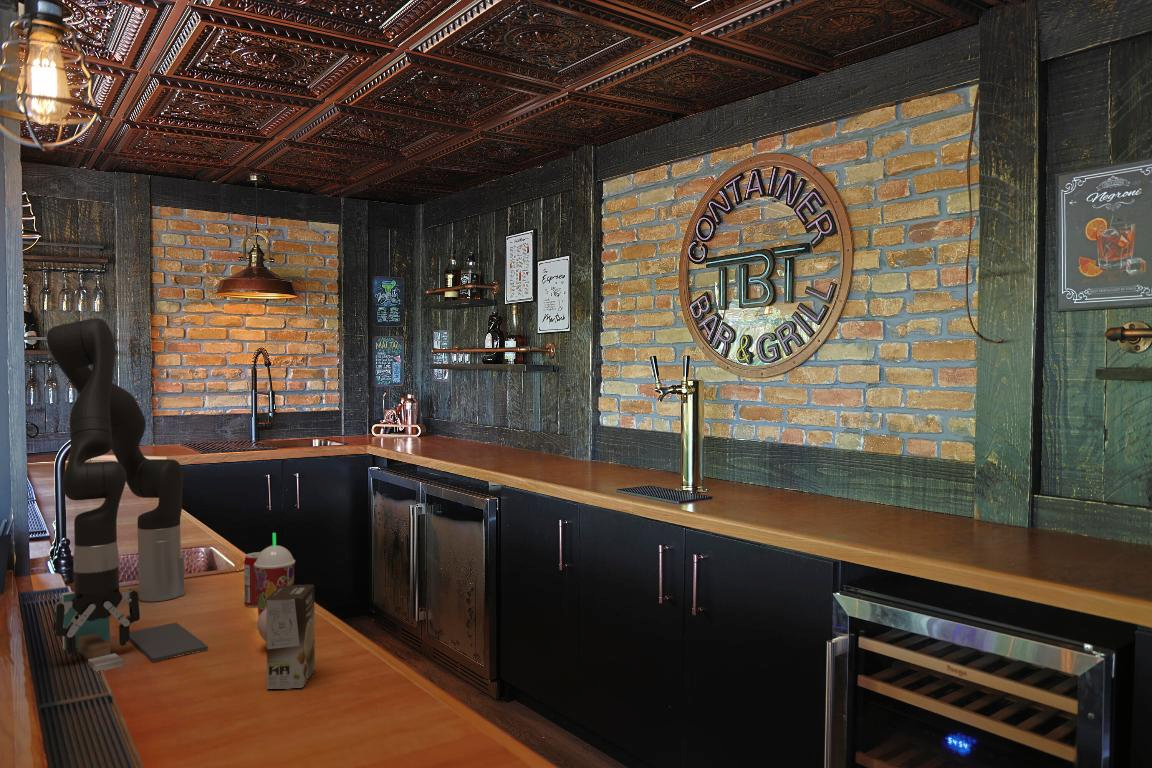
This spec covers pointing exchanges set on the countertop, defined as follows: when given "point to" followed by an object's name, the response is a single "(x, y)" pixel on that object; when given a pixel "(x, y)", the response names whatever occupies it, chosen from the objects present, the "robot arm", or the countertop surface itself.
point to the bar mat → (165, 641)
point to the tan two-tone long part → (98, 652)
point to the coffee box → (290, 636)
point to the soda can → (250, 579)
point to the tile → (85, 623)
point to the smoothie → (272, 572)
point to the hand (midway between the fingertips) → (98, 649)
